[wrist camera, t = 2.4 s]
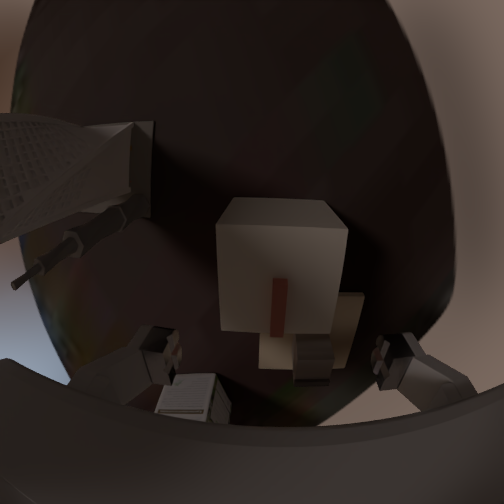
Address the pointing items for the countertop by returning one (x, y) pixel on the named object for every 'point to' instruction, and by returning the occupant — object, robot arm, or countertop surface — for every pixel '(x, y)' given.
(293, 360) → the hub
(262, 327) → the knob
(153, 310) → the countertop surface
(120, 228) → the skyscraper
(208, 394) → the syrup box
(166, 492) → the robot arm
